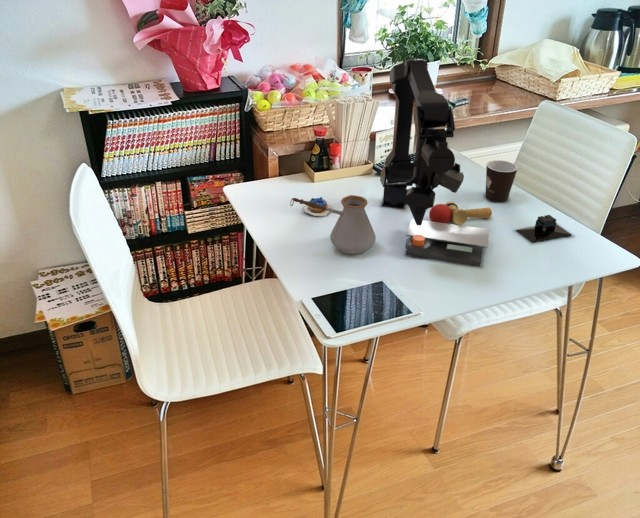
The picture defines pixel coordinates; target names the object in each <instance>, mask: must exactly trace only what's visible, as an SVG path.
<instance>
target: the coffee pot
mask: <svg viewBox="0 0 640 518" xmlns="http://www.w3.org/2000/svg"><path fill="white" fill-rule="evenodd" d="M309 201H310V200H309ZM309 201H308V200H304V199H303V198H302V199H299V198H297V197H292V198H291V200H290V203H289V205H290V207H293V205H294V204H295V202H296V203H299V204H300V205H304V206H306V205H307V206H309V207H313V208H317V209H321V210H326V211H329V213H332V214H335V215H339V216H338V219H337V221H336V222H335V225H333V228H332V230H331V232H330V234H329V239H330V242H331V244H332V245H333V246H334V248H336V249H337V250H339V251H340V252H341V253H343V254H346V255H361V254H363V253H365V252H366V251H368V250H370V249H371V248H372V247H373V246H374V244H375V242H376V240H377V237H376V233H375V231H374V228H373V226H372V223H371V222H370V218H369V216H368V214H367V211H366V209H365V208H366V207H367V205H368V200H367V198H365V197H363V196H360V195H353V194H350V195H347V196H344V197H342V198H341V201H340V203H341V206H342V208H343V209H342V210H338V209H334V208H331V207H330V208H327V207H325V206H322V205H319V204H316V203H314V202H309Z"/></svg>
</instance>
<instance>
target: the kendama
mask: <svg viewBox="0 0 640 518" xmlns="http://www.w3.org/2000/svg"><path fill="white" fill-rule="evenodd" d="M492 214H493V210H492V208H491V207H489V206H487V207H479V208H468V209H463V208H459V206H458V205H457V204H456V203H455V202H453V201H446V202H445V203H437V204H435V205H433V207H432V208H430V209H429V213H428V216H429V217H428V218H429V221H432V222H440V223H447V224H450V223H451V222H452V224H454V225H461V226H463V225H464V224H465V223H466V222H467V220H468V218H477V219H478V218H481V219H490V218H491V217H492Z"/></svg>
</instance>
